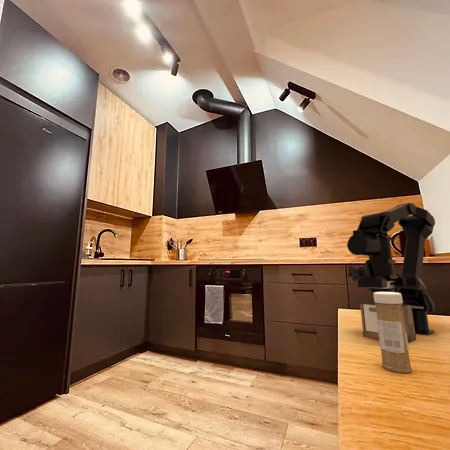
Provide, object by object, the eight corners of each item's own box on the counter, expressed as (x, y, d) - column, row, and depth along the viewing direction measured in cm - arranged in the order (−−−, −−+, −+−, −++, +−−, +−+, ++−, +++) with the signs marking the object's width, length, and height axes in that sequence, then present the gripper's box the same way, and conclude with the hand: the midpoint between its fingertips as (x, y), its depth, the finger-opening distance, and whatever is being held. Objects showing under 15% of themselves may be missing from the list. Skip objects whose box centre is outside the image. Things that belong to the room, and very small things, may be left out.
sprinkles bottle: (416, 370, 44) (405, 292, 47) (405, 376, 42) (394, 293, 44) (388, 362, 48) (380, 291, 50) (376, 367, 45) (368, 292, 48)
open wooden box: (376, 332, 72) (373, 302, 73) (416, 339, 64) (411, 305, 66) (363, 336, 67) (360, 304, 69) (404, 344, 60) (400, 308, 61)
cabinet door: (367, 330, 67) (364, 304, 69) (401, 336, 61) (397, 307, 62) (365, 330, 67) (362, 304, 68) (399, 336, 60) (396, 307, 62)
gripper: (365, 258, 82) (370, 308, 79) (335, 256, 71) (340, 313, 68) (404, 257, 73) (412, 312, 70) (377, 254, 62) (385, 319, 59)
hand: (386, 314), depth 67 cm, fingers closed
